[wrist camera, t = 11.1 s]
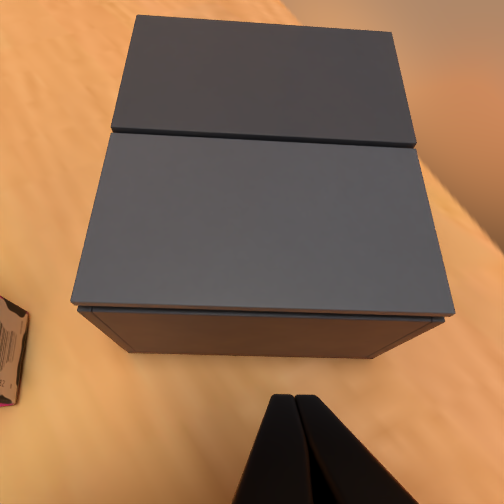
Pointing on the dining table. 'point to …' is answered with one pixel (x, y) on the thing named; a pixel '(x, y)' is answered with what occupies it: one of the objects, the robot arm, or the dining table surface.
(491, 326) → the dining table surface
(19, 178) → the dining table surface
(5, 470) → the dining table surface
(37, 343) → the dining table surface
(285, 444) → the robot arm
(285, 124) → the carton
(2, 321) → the candy bar box
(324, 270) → the flap
